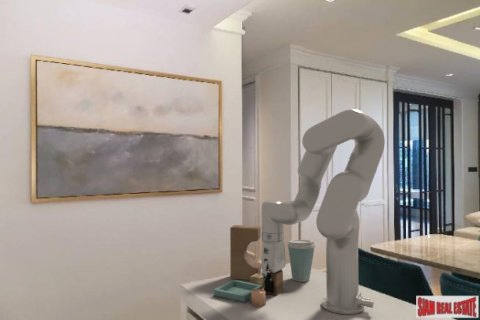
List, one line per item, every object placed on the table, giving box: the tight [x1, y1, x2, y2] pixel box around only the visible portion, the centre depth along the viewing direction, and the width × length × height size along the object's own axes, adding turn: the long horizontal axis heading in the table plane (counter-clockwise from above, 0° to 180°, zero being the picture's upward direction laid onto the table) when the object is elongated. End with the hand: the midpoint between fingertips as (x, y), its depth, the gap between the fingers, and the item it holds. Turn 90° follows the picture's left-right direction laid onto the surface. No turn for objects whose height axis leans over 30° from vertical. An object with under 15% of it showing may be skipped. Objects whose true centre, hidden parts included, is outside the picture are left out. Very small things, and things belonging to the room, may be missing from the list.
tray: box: [213, 279, 263, 304], centre depth 118 cm, size 12×12×2 cm
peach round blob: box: [250, 289, 266, 308], centre depth 109 cm, size 4×4×4 cm
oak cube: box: [250, 274, 263, 286], centre depth 125 cm, size 4×4×4 cm
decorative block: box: [229, 224, 262, 281], centre depth 135 cm, size 11×6×20 cm, turn 72°
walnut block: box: [263, 269, 284, 296], centre depth 120 cm, size 5×5×7 cm
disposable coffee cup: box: [287, 239, 316, 282], centre depth 134 cm, size 11×11×15 cm
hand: (273, 289), depth 120 cm, fingers closed on walnut block, 5 cm apart
